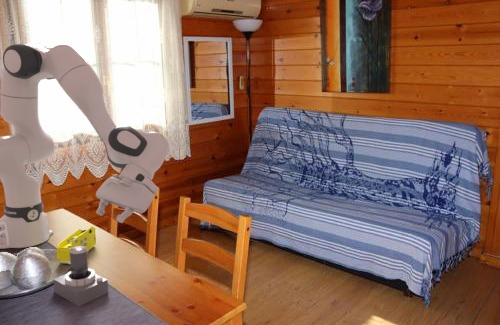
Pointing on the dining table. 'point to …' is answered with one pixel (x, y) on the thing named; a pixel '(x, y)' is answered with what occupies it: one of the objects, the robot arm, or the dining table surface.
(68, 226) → the dining table surface
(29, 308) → the dining table surface
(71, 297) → the camera body
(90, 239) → the yellow toy chassis
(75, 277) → the dark grey peg
